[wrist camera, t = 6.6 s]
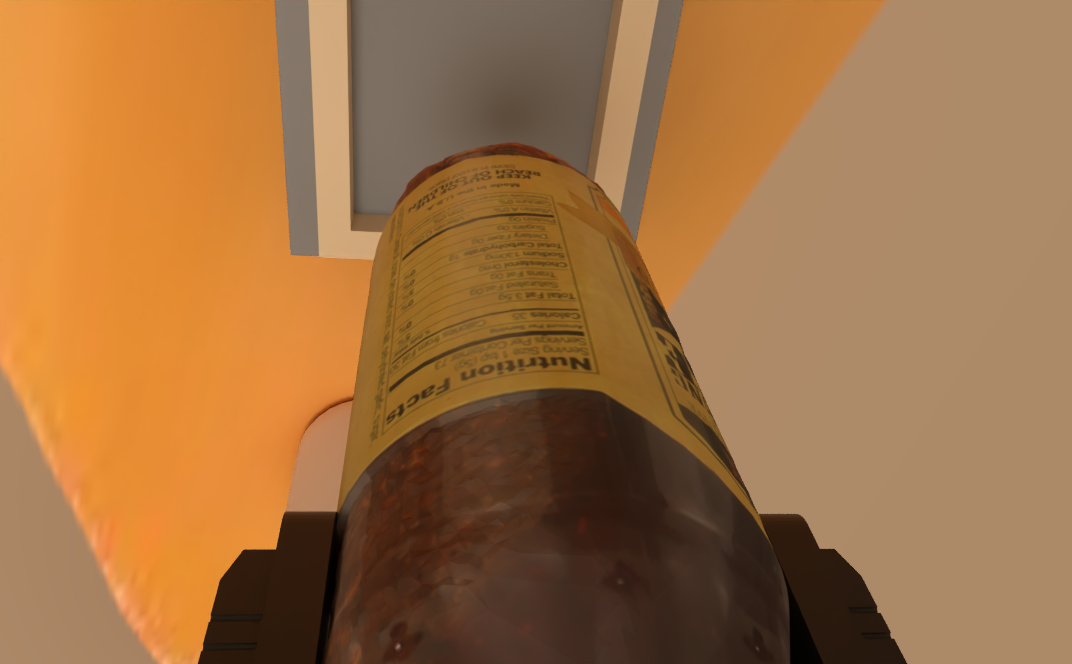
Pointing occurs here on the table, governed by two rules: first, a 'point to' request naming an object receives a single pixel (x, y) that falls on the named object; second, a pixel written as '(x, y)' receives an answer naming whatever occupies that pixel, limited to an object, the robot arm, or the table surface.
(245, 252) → the table surface
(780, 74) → the table surface
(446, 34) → the tray
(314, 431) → the milk bottle
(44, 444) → the table surface
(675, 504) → the sauce bottle
